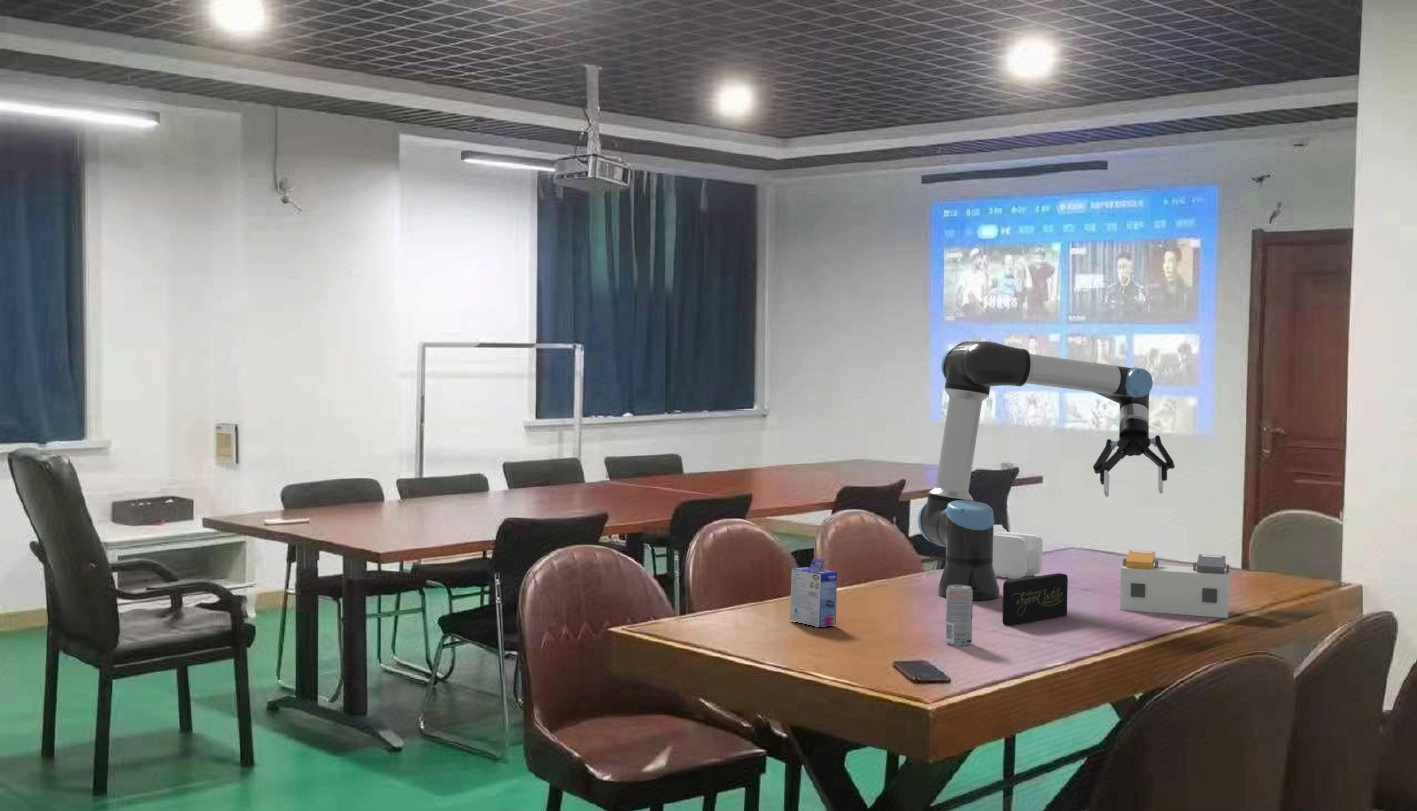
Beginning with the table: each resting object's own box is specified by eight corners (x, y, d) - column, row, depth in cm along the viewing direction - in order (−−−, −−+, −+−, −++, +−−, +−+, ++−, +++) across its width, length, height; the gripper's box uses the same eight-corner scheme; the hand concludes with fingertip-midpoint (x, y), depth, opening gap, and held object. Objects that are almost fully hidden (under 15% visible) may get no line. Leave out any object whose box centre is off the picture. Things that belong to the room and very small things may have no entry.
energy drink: (968, 641, 285) (969, 584, 285) (974, 646, 280) (975, 588, 280) (943, 641, 285) (944, 584, 285) (948, 646, 280) (949, 588, 280)
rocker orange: (1128, 556, 332) (1128, 549, 332) (1155, 557, 330) (1156, 551, 329) (1125, 567, 325) (1125, 560, 325) (1153, 569, 322) (1153, 562, 322)
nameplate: (1009, 626, 303) (1009, 582, 302) (1002, 625, 304) (1003, 580, 304) (1067, 616, 316) (1067, 573, 315) (1060, 615, 317) (1061, 572, 317)
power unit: (1124, 603, 334) (1125, 555, 333) (1228, 610, 324) (1230, 562, 324) (1120, 609, 324) (1121, 561, 324) (1227, 618, 315) (1228, 568, 314)
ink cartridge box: (837, 626, 300) (838, 561, 300) (819, 629, 297) (820, 563, 296) (806, 619, 308) (807, 555, 308) (789, 622, 304) (789, 557, 304)
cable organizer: (976, 574, 377) (976, 533, 377) (996, 570, 385) (997, 529, 385) (1023, 581, 367) (1024, 538, 367) (1043, 576, 375) (1044, 534, 374)
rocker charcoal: (1197, 560, 326) (1197, 553, 326) (1226, 562, 323) (1226, 555, 323) (1195, 571, 319) (1195, 565, 318) (1225, 573, 316) (1225, 566, 316)
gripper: (1185, 428, 359) (1185, 496, 348) (1089, 436, 370) (1086, 502, 358) (1180, 412, 354) (1181, 481, 342) (1083, 420, 365) (1081, 487, 353)
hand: (1133, 492), depth 350 cm, fingers open, 13 cm apart
